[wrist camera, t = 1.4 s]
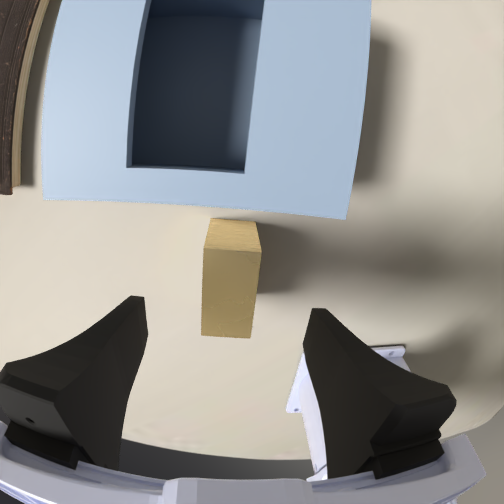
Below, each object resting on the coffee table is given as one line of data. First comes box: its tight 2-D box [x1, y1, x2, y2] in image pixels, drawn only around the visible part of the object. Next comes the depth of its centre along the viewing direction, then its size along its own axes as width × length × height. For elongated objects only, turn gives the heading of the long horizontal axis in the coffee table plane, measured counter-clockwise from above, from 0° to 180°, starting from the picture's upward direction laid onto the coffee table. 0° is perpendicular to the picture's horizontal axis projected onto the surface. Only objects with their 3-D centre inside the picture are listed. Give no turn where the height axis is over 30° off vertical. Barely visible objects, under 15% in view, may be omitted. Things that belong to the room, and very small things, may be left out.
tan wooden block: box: [201, 218, 262, 338], centre depth 16 cm, size 3×5×4 cm, turn 174°
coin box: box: [41, 0, 371, 220], centre depth 11 cm, size 12×10×6 cm
